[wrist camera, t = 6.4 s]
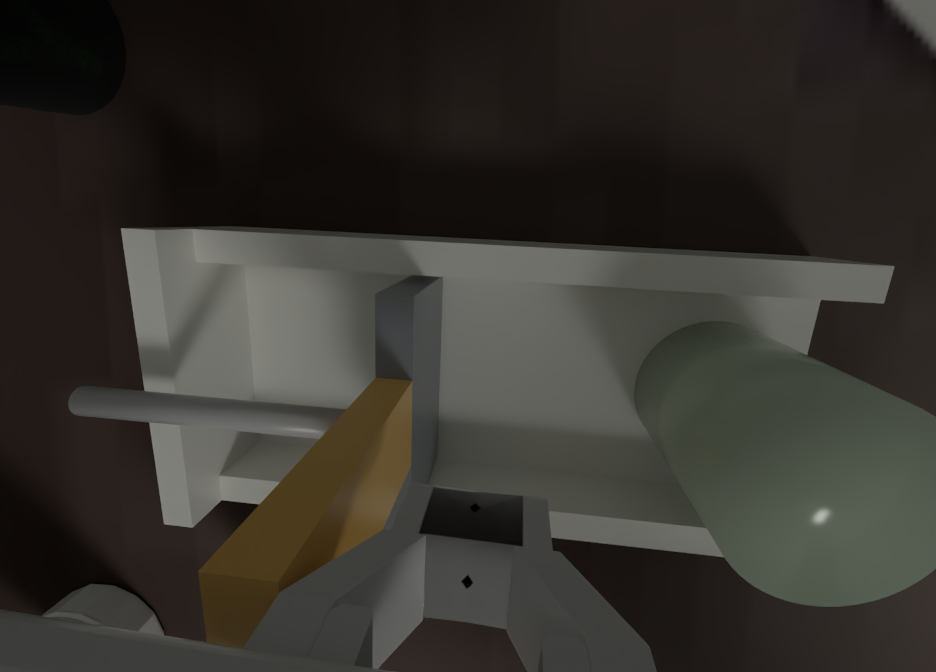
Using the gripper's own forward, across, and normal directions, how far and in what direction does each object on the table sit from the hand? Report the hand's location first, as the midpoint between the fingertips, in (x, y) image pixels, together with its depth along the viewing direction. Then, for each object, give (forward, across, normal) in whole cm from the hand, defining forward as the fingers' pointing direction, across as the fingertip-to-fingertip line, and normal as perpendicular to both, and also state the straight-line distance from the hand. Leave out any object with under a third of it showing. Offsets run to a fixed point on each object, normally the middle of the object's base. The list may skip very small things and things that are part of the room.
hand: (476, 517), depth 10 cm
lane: (+12, 0, 0) cm, 12 cm away
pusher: (+10, +8, 0) cm, 13 cm away
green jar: (+10, -9, 0) cm, 14 cm away
